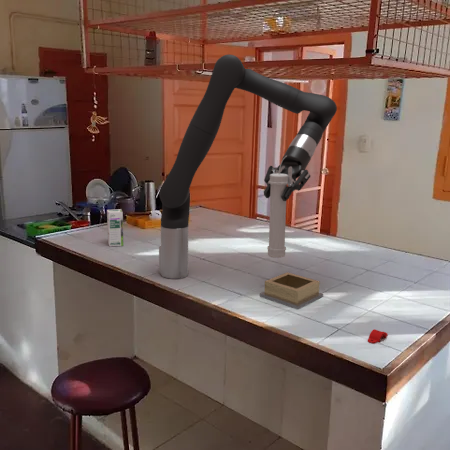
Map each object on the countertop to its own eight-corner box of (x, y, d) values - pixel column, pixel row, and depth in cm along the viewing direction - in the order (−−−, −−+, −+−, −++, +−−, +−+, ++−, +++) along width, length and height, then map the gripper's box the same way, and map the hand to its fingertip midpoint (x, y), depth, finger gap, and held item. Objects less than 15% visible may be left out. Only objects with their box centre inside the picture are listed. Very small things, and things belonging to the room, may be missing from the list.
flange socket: (259, 296, 154) (260, 281, 153) (285, 285, 165) (286, 270, 164) (297, 309, 145) (298, 293, 144) (323, 296, 156) (324, 281, 155)
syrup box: (109, 247, 202) (108, 211, 199) (107, 243, 208) (106, 208, 204) (123, 246, 204) (122, 211, 201) (121, 242, 210) (121, 208, 206)
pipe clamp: (374, 346, 125) (375, 338, 125) (364, 342, 127) (365, 334, 126) (390, 336, 131) (390, 328, 130) (380, 332, 133) (380, 325, 132)
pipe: (278, 251, 153) (282, 153, 146) (290, 257, 148) (294, 155, 141) (263, 254, 151) (266, 153, 143) (275, 260, 145) (278, 156, 138)
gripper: (275, 143, 152) (249, 187, 146) (316, 146, 143) (290, 193, 137) (284, 159, 157) (260, 202, 151) (324, 163, 148) (300, 209, 142)
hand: (274, 197), depth 144 cm, fingers closed on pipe, 5 cm apart
